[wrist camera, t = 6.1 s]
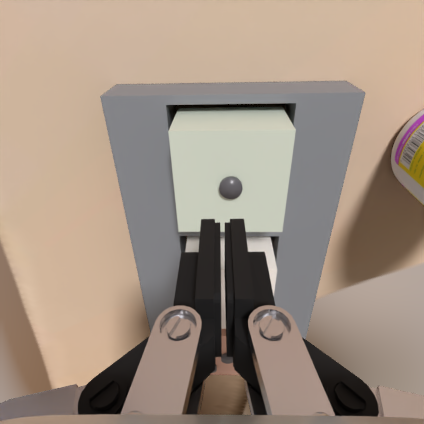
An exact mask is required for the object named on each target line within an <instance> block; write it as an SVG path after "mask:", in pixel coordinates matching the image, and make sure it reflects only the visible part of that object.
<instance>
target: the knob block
mask: <svg viewBox="0 0 424 424" xmlns="http://www.w3.org/2000/svg"><path fill="white" fill-rule="evenodd" d="M168 133H169V142H170V152H171V162H172V172H173V182H174V192H175V202H176V211H177V221H178V231H179V232H200V226H201V219H215V223H217V222H220V232H225V222H230V219H244V223H245V231H246V232H282V231H283V223H284V216H285V208H286V200H287V193H288V185H289V178H290V170H291V163H292V155H293V148H294V140H295V133H296V129H295V128H294V126H293V124H292V122H291V121H290V119H289V117H288V116H287V114H286V112H285V111H284V109H283V107H228V108H178V111H177V113H176V115H175V117H174V120H173V122H172V124H171V126H170V129H169V131H168Z"/></svg>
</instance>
